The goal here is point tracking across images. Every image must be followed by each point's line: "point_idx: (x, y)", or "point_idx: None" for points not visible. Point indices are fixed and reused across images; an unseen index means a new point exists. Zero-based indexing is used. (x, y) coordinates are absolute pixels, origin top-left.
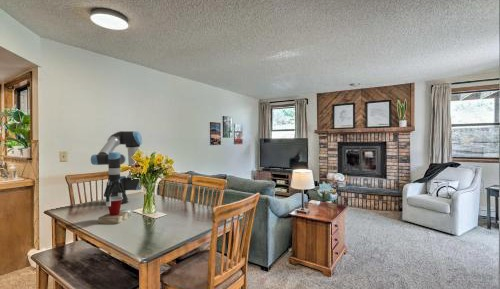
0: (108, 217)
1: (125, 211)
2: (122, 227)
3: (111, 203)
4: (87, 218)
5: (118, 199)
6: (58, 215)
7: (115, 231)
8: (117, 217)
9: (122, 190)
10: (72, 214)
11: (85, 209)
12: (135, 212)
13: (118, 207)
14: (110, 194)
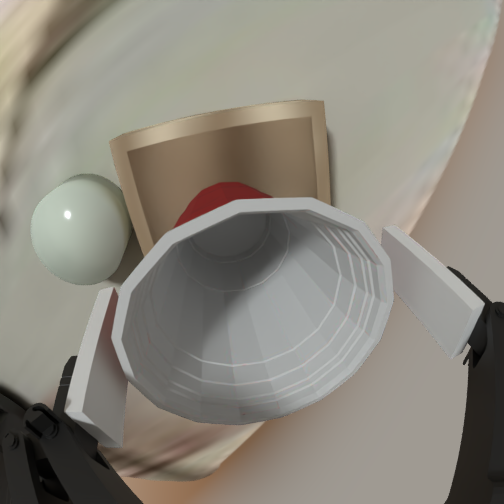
0: (322, 201)
1: (92, 213)
2: (366, 23)
3: (348, 270)
4: None
5: (150, 333)
6: (231, 452)
7: (427, 36)
8: (311, 117)
9: (32, 452)
10: (203, 440)
11: (131, 447)
12: (3, 214)
13: (251, 192)
14: (497, 340)
